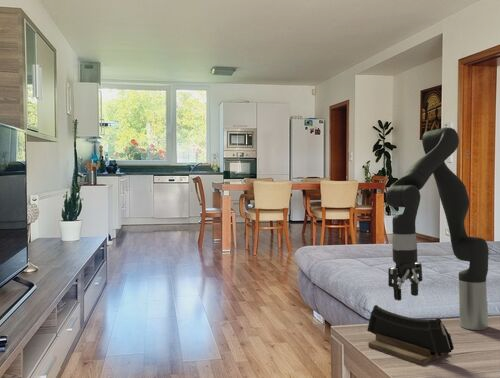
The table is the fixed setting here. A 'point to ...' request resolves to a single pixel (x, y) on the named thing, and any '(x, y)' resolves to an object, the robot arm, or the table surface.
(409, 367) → the table surface
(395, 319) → the magazine
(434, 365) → the table surface
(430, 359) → the stand
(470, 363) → the table surface
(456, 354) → the table surface
